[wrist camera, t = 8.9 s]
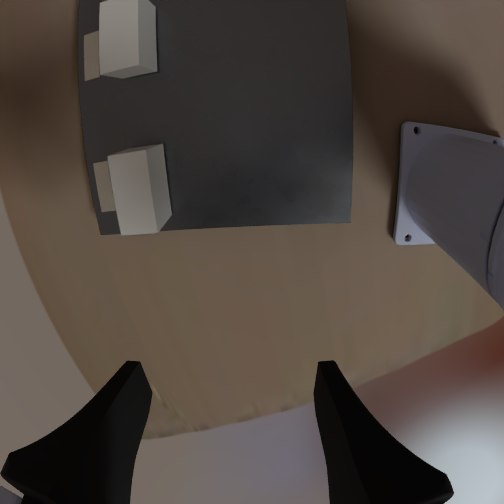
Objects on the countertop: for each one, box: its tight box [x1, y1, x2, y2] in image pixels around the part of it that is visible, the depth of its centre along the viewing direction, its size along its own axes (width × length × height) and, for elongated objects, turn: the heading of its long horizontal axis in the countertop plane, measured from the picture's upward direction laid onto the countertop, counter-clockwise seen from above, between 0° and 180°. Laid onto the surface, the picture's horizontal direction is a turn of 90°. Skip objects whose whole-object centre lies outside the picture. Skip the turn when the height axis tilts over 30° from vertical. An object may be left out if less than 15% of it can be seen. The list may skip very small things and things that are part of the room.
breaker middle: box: [99, 0, 157, 79], centre depth 11 cm, size 2×4×3 cm, turn 3°
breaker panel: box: [78, 0, 353, 235], centre depth 13 cm, size 15×22×2 cm
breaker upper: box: [107, 144, 172, 235], centre depth 15 cm, size 2×4×3 cm, turn 3°
